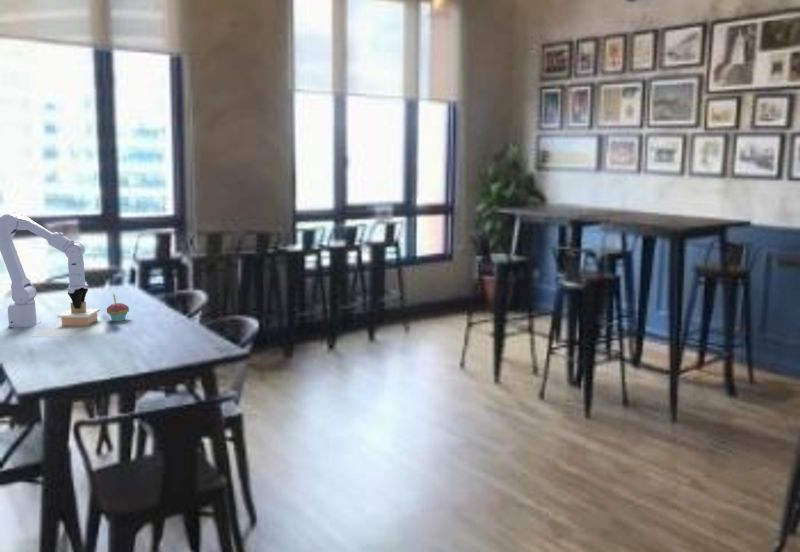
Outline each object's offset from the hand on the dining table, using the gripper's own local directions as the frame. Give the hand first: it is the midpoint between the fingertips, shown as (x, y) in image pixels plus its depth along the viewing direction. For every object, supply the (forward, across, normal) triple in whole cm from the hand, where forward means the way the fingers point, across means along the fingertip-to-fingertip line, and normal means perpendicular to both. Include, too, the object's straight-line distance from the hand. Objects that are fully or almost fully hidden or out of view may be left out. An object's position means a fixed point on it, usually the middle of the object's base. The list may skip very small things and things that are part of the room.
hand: (79, 307), depth 297 cm
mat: (+7, -15, +2) cm, 17 cm away
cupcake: (+7, +6, -13) cm, 16 cm away
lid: (+3, 0, 0) cm, 3 cm away
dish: (+7, 0, 0) cm, 7 cm away
